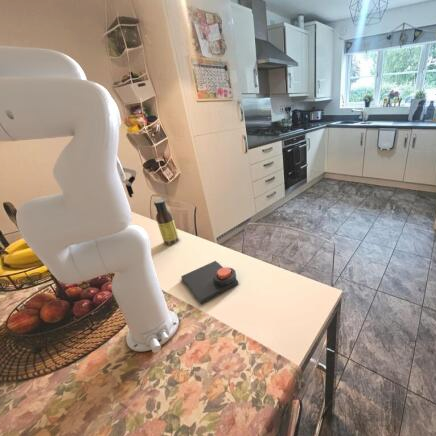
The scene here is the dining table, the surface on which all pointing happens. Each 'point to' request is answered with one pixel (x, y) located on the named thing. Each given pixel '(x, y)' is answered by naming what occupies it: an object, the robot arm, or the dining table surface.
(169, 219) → the sauce bottle
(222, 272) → the button
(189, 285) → the black flat block
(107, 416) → the dining table surface
